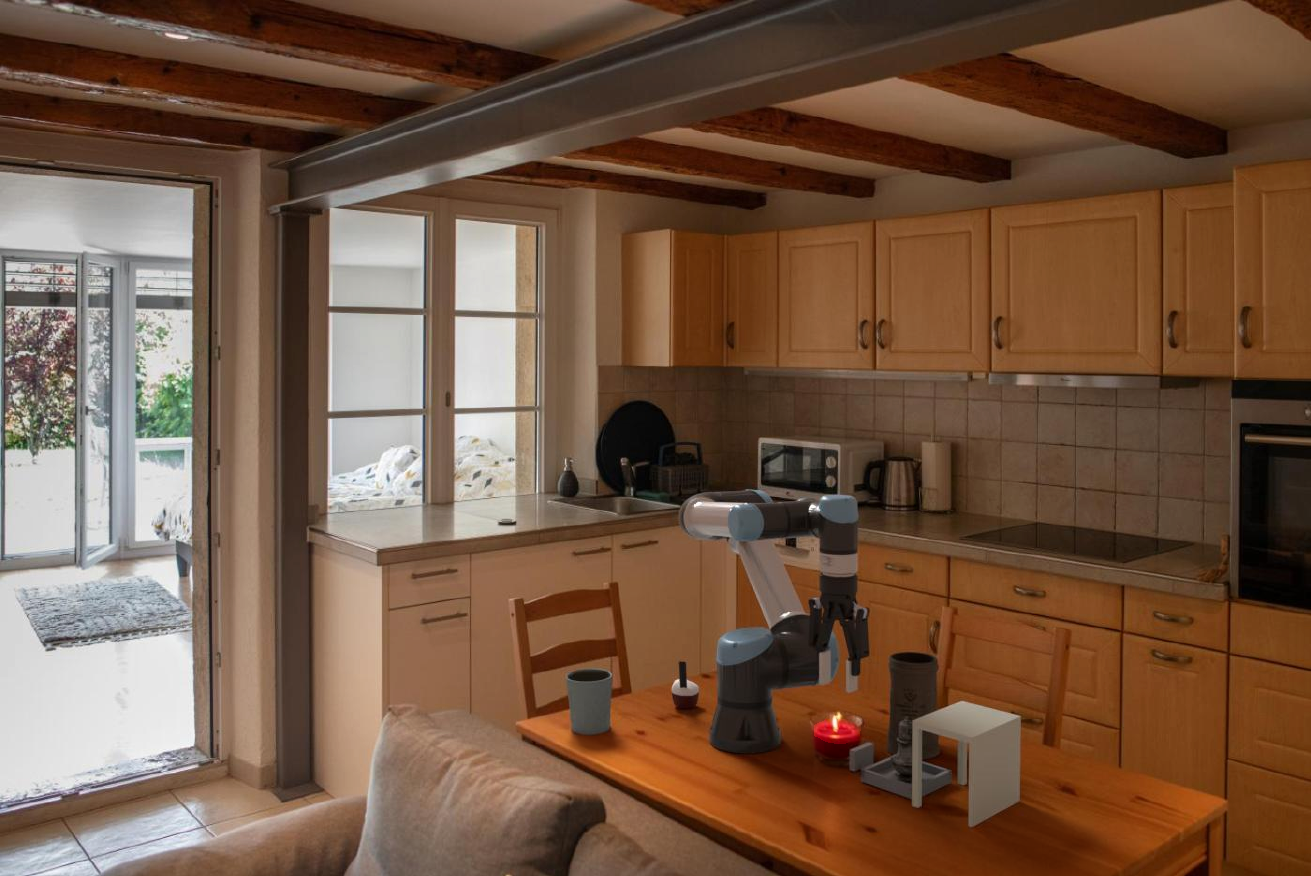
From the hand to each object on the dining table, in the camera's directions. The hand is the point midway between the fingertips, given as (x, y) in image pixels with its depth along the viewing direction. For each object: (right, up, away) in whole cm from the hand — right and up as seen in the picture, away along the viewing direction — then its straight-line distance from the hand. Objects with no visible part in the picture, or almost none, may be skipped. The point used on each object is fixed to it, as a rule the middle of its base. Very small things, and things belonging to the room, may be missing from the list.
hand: (838, 686), depth 208 cm
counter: (+19, -16, -21) cm, 33 cm away
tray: (+9, -15, -9) cm, 20 cm away
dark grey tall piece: (+11, -15, -11) cm, 21 cm away
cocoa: (-30, -13, +34) cm, 47 cm away
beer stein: (+17, -15, +8) cm, 24 cm away
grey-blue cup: (-51, -14, +21) cm, 57 cm away
